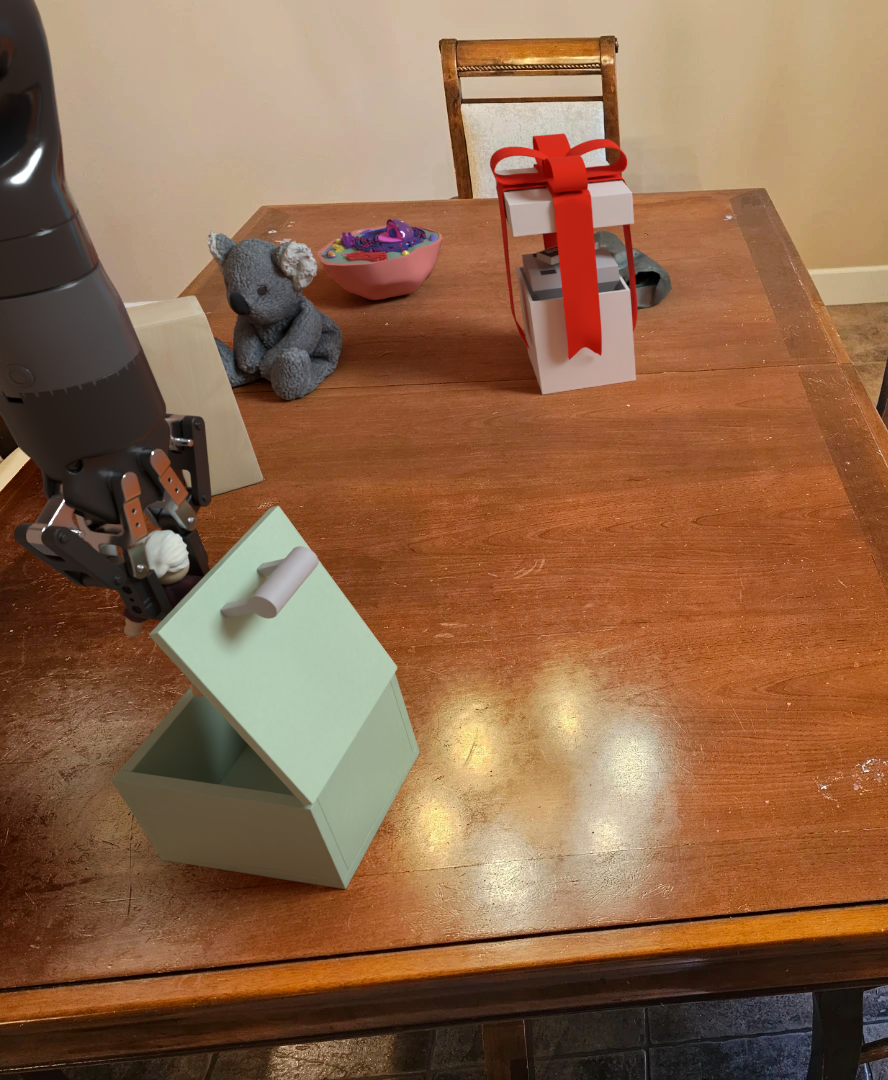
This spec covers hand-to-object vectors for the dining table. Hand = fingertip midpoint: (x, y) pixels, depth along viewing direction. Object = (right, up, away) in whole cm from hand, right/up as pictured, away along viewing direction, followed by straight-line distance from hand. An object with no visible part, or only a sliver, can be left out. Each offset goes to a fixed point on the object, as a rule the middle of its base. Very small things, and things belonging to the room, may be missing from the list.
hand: (175, 595), depth 60 cm
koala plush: (-26, +28, +72) cm, 82 cm away
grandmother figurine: (0, -7, +5) cm, 8 cm away
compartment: (+2, -17, +13) cm, 21 cm away
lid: (+6, -4, +2) cm, 8 cm away
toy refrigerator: (-24, +11, +50) cm, 56 cm away
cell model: (-20, +45, +94) cm, 107 cm away
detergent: (+19, +47, +96) cm, 109 cm away
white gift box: (+16, +28, +72) cm, 79 cm away
